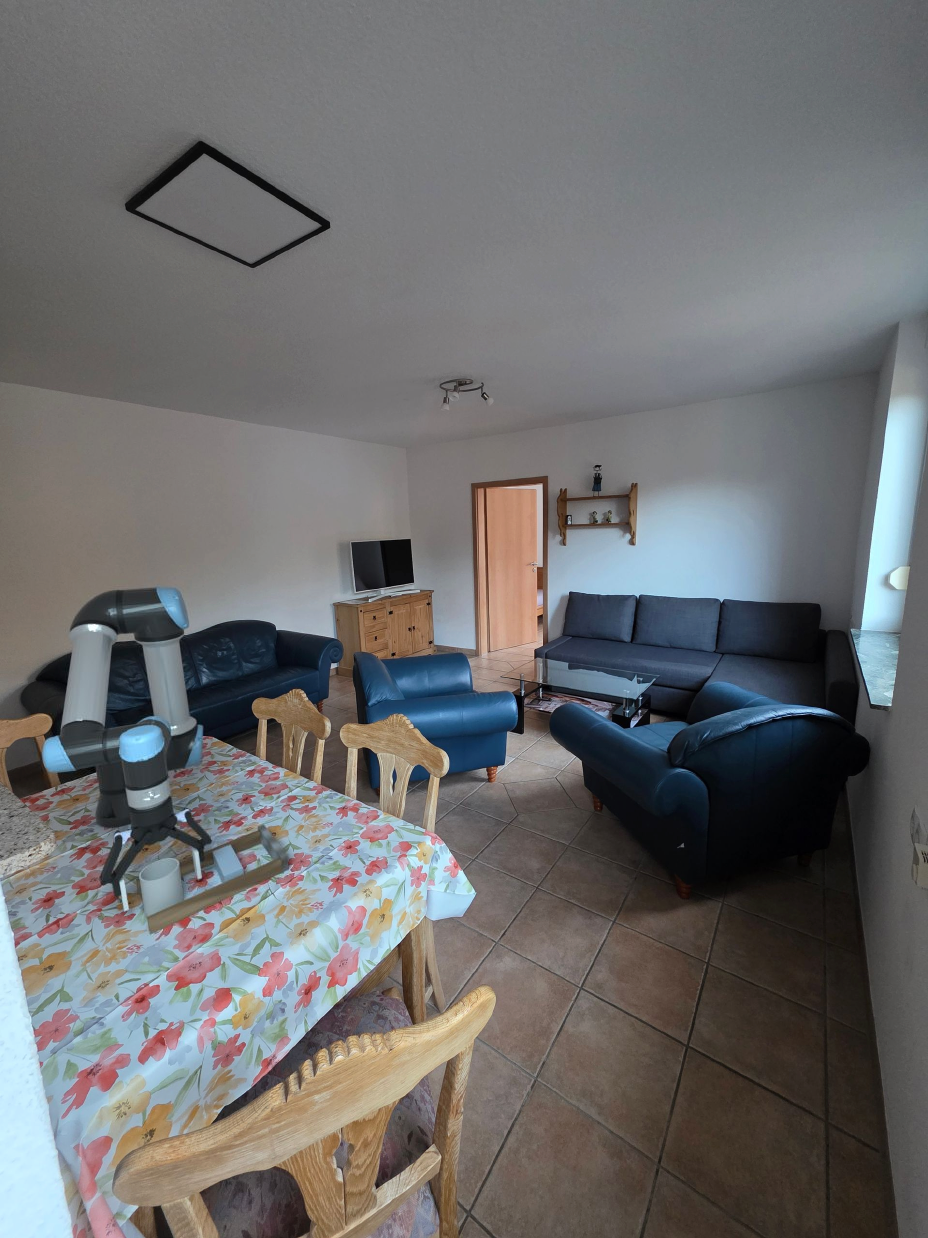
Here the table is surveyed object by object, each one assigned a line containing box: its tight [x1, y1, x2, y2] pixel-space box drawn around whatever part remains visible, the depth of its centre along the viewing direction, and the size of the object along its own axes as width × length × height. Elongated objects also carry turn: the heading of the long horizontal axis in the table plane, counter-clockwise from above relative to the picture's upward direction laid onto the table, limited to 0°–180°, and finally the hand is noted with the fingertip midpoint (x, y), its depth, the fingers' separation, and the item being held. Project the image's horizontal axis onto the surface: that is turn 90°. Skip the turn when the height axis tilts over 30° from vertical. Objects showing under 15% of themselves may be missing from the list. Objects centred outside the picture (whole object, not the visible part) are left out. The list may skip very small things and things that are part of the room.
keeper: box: [213, 845, 245, 884], centre depth 113 cm, size 11×4×4 cm, turn 39°
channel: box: [135, 823, 289, 935], centre depth 111 cm, size 16×28×4 cm, turn 131°
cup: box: [138, 857, 185, 917], centre depth 105 cm, size 7×10×9 cm
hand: (163, 890), depth 105 cm, fingers open, 13 cm apart
